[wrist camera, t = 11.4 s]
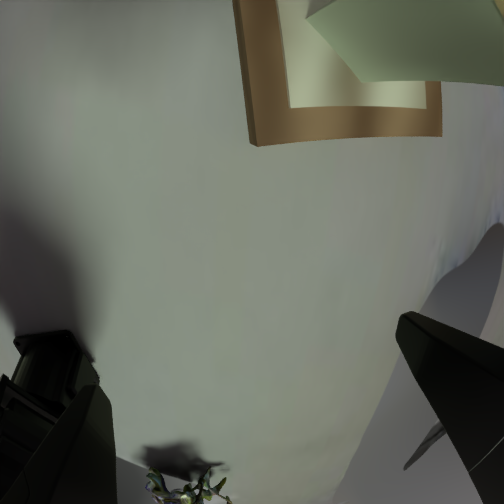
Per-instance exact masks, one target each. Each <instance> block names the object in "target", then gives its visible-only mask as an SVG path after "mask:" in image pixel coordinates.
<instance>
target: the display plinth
mask: <svg viewBox="0 0 504 504" xmlns="http://www.w3.org/2000/svg"><path fill="white" fill-rule="evenodd" d="M330 1H331V0H232V2H233V10H234V17H235V25H236V33H237V41H238V49H239V57H240V65H241V73H242V81H243V90H244V98H245V106H246V115H247V123H248V132H249V140H250V143H251V144H253V145H255V146H257V147H260V146H267V145H276V144H285V143H294V142H304V141H316V140H328V139H343V138H362V137H393V136H432V137H442V96H441V81H384V82H365V83H361V81H360V80H359V79H358V78H357V76H356V75H355V74H354V73H353V71H352V70H351V69H350V68H349V67H348V65H347V64H346V63H345V62H344V61H343V59H342V58H341V57H340V56H339V55H338V54H337V52H336V51H335V50H334V49H333V48H332V47H331V46H330V45H329V43H328V42H327V41H326V40H325V39H324V38H323V37H322V36H321V35H320V34H319V33H318V32H317V31H316V30H315V28H314V27H313V26H312V25H311V24H310V23H309V22H308V21H307V20H306V19H307V18H308V17H309V16H311V15H312V14H313V13H315V12H316V11H317V10H319V9H320V8H321V7H323V6H324V5H325V4H327V3H328V2H330Z"/></svg>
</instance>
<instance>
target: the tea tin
mask: <svg viewBox="0 0 504 504" xmlns="http://www.w3.org/2000/svg"><path fill="white" fill-rule="evenodd" d="M306 20H307V21H308V22H309V23H310V24H311V25H312V26H313V27H314V28H315V30H316V31H317V32H318V33H319V34H320V35H321V36H322V37H323V38H324V39H325V40H326V41H327V42H328V43H329V45H330V46H331V47H332V48H333V49H334V50H335V51H336V52H337V54H338V55H339V56H340V57H341V58H342V59H343V61H344V62H345V63H346V64H347V65H348V67H349V68H350V69H351V70H352V71H353V73H354V74H355V75H356V76H357V78H358V79H359V80H360V81H361V83H365V82H384V81H446V82H464V83H476V84H486V85H495V86H503V87H504V0H331V1H330V2H328V3H327V4H325V5H324V6H323V7H321V8H320V9H319V10H317V11H316V12H315V13H313V14H312V15H311V16H309V17H308V18H307V19H306Z"/></svg>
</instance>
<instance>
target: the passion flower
mask: <svg viewBox="0 0 504 504" xmlns="http://www.w3.org/2000/svg"><path fill="white" fill-rule="evenodd" d="M210 468H211V467H209V468H208V470H207V472H206V474H205V475H203V476H202V477H201V478H199V481H198V484H197V485H196V486H195V487H194V488H193V489H192V486H191V483H189V484H187V485H185V486H184V489H183V492H180V491H174V492H172V493H170V492H169V491H168V490H167V488H166V486H165V482H164V478H163V476H162V475H161V474H160V472H159V471H158V470H157V469H155V468H153V467H151V469H149V474H148V475H146V477H148V478H149V479H150V481H149V482H148V483H147V484H146V487H145V488H146V489H147V490H148V491H149V492H150V493H151V494H152V498H153V499H154V500H155V502H158V503H160V504H204V503H203V498H205V499H207V500H208V501H210V500H211V498H212V496H213V495H218V496H220V497H221V498H223V499H225V500H226V501H227V504H232V502H231V501H230V499H229V497H228V496H226V498H225V497H223V496H221V495H219V491H220V489H221V488H222V486H223V485H224V484H225V482H226V477H225V478H224V479H223V480H222V481H221V482H220V483H219V484H218V485H216V486H215V487H213V488H210V484H209V473H210ZM204 486H205V487H207V488H208V490H205V489H203V487H204ZM196 489H199V494H198V495H196V493H195V492H194V490H196Z"/></svg>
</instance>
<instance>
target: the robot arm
mask: <svg viewBox="0 0 504 504" xmlns="http://www.w3.org/2000/svg"><path fill="white" fill-rule="evenodd" d="M66 336H68V337H66ZM396 341H397V343H398V345H399V347H400V349H401V351H402V353H403V355H404V357H405V359H406V361H407V363H408V365H409V368H410V370H411V372H412V374H413V376H414V378H415V379H416V381H417V383H418V385H419V386H420V388H421V390H422V391H423V393H424V394H425V396H426V398H427V399H428V401H429V403H430V405H431V406H432V408H433V410H434V411H435V413H436V415H437V417H438V418H439V420H440V422H441V424H442V425H443V427H444V429H445V431H446V432H447V434H448V436H449V438H450V439H451V441H452V443H453V445H454V446H455V449H456V450H457V452H458V454H459V456H460V458H461V460H462V462H463V464H464V465H465V467H466V469H467V471H468V472H469V475H470V477H471V479H472V481H473V483H474V485H475V487H476V489H477V491H478V494H479V496H480V498H481V500H482V502H483V504H504V348H501V347H499V346H496V345H494V344H492V343H489V342H487V341H484V340H482V339H480V338H477V337H474V336H472V335H470V334H467V333H465V332H463V331H460V330H458V329H455V328H453V327H450V326H448V325H446V324H443V323H440V322H438V321H436V320H433V319H431V318H429V317H426V316H423V315H421V314H419V313H416V312H414V311H409V312H406V313H404V314H402V315H401V316H400V317H399V321H398V325H397V330H396ZM13 343H14V345H15V347H16V348H17V350H18V351H19V353H20V354H21V357H20V359H19V362H18V364H17V366H16V369H15V371H14V373H13V376H12V378H11V380H9V377H7V376H6V375H5V374H2V376H1V377H0V504H118V503H117V483H116V450H115V440H114V430H113V418H112V406H111V403H110V400H109V399H108V397H107V396H106V394H105V393H104V391H103V390H102V388H101V387H100V386H99V383H100V380H99V379H98V377H97V375H96V374H95V371H94V369H93V368H92V366H91V364H90V363H89V361H88V359H87V358H86V356H85V354H84V353H83V352H82V350H81V349H80V347H79V345H78V343H77V342H76V340H75V338H74V336H73V334H72V333H71V332H70V331H68V330H63V331H56V332H48V333H41V334H33V335H25V336H17V337H15V339H14V341H13Z"/></svg>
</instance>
